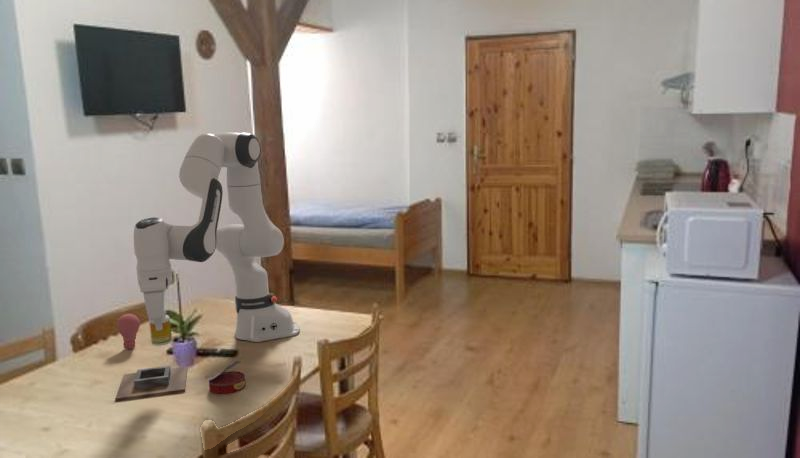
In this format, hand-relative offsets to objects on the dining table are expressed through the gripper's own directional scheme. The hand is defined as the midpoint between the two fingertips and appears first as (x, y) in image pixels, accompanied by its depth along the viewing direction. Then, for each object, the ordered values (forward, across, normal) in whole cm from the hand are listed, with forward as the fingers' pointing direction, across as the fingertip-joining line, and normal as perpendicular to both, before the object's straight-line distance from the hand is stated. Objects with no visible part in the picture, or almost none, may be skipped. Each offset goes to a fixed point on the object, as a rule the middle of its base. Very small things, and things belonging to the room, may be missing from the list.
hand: (160, 325), depth 181 cm
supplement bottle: (+5, 0, 0) cm, 5 cm away
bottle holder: (+18, -5, -4) cm, 20 cm away
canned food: (+19, +5, +16) cm, 26 cm away
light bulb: (+19, -40, -13) cm, 46 cm away
